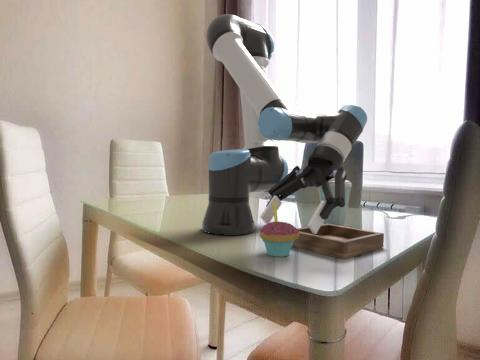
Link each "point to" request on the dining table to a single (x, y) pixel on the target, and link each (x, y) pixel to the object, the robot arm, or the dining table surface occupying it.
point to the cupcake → (278, 236)
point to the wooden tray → (339, 240)
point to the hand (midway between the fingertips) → (286, 225)
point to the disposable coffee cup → (339, 212)
